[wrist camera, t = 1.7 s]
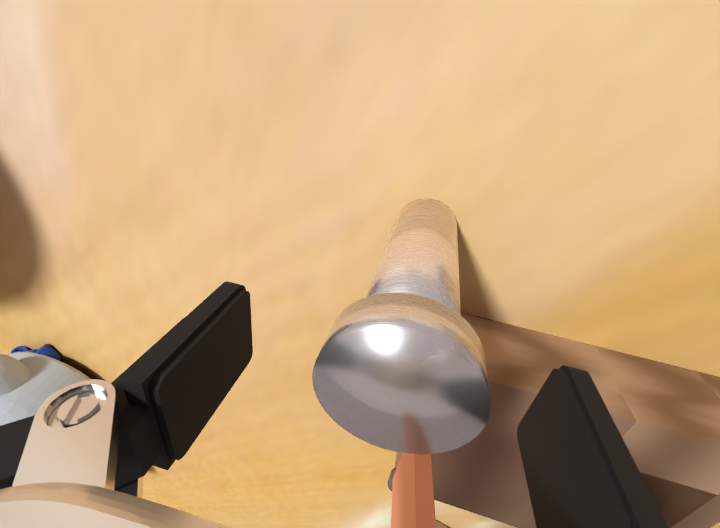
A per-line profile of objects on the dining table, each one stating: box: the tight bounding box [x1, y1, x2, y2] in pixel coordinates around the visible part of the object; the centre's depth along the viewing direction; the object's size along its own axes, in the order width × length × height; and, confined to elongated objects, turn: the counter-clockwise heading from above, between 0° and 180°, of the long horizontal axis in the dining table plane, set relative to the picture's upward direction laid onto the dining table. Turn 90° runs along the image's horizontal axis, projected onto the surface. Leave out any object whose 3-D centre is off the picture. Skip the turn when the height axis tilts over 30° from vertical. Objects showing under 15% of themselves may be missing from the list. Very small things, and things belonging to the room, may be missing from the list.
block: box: [388, 313, 720, 528], centre depth 20 cm, size 16×12×6 cm
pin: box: [313, 199, 491, 454], centre depth 13 cm, size 5×5×12 cm
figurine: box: [0, 344, 91, 426], centre depth 35 cm, size 17×8×20 cm
